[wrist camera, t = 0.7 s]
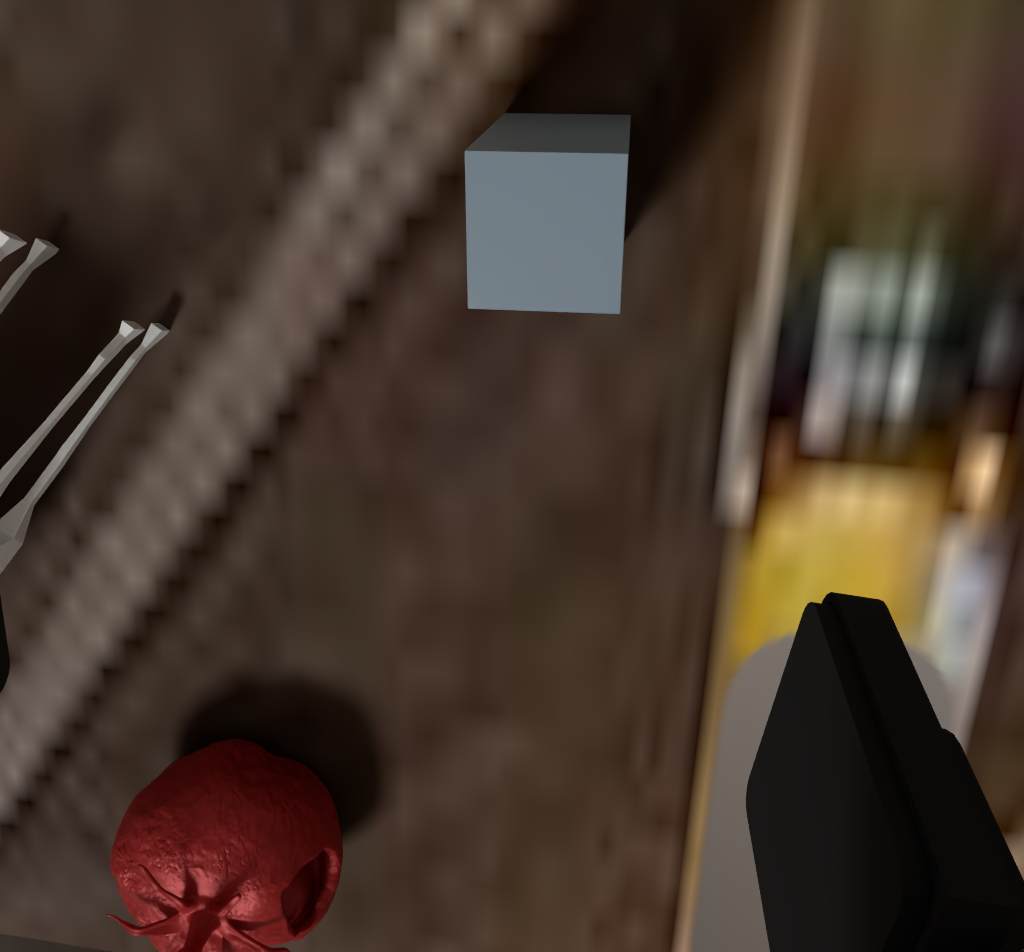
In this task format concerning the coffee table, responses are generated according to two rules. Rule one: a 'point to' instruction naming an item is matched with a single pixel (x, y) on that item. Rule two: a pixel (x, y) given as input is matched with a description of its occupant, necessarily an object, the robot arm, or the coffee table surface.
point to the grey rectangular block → (547, 213)
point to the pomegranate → (228, 852)
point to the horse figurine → (10, 530)
